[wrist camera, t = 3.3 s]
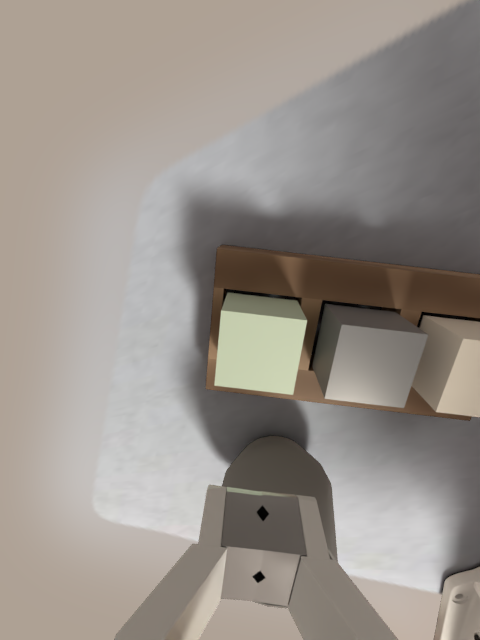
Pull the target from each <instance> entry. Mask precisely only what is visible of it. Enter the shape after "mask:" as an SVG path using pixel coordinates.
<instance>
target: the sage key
mask: <svg viewBox="0 0 480 640" xmlns="http://www.w3.org/2000/svg"><path fill="white" fill-rule="evenodd" d="M306 324H307V319H306V317H305V315H304V313H303V311H302V309H301V307H300V305H299V303H298V301H297V300H288V299H280V298H271V297H262V296H254V295H245V294H237V293H227V296H226V298H225V301H224V304H223V307H222V309H221V318H220V329H219V340H218V351H217V362H216V373H215V384H214V386H222V387H231V388H239V389H247V390H256V391H264V392H273V393H281V394H289V395H293V393H294V387H295V382H296V377H297V372H298V366H299V361H300V356H301V350H302V345H303V340H304V335H305V329H306Z"/></svg>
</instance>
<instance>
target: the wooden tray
mask: <svg viewBox="0 0 480 640" xmlns="http://www.w3.org/2000/svg"><path fill="white" fill-rule="evenodd" d="M226 289H232V290H241V291H249V292H258V293H267V294H275V295H284V296H292V297H295V300H297V301H298V303H299V305H300V307H301V309H302V311H303V313H304V315H305V317H306V319H307V324H306V329H305V335H304V340H303V345H302V350H301V356H300V361H299V366H298V372H297V377H296V382H295V387H294V393H293V395H289V394H281V393H273V392H264V391H256V390H247V389H239V388H231V387H222V386H214V384H215V373H216V362H217V351H218V340H219V329H220V318H221V309H222V307H223V304H224V301H225V298H226ZM322 300H327V301H335V302H344V303H353V304H361V305H370V306H378V307H382V310H383V311H391V312H396V313H397V314H399V315H400V316H402V317H403V318H405V319H406V320H408V321H409V322H411V323H412V324H414V325H415V326H417V325H418V322H419V319H420V315H421V312H430V313H439V314H447V315H456V316H464V317H469V321H477V322H480V274H473V273H464V272H455V271H447V270H438V269H429V268H420V267H412V266H403V265H394V264H386V263H377V262H368V261H359V260H351V259H342V258H333V257H325V256H316V255H307V254H298V253H290V252H281V251H272V250H264V249H255V248H246V247H237V246H229V245H221V246H219V247H218V248H217V254H216V266H215V279H214V291H213V303H212V316H211V328H210V340H209V353H208V365H207V377H206V389H209V390H217V391H225V392H234V393H242V394H250V395H259V396H267V397H276V398H284V399H292V400H301V401H309V402H317V403H326V404H334V405H342V406H351V407H359V408H367V409H376V410H384V411H393V412H401V413H409V414H418V415H426V416H434V417H443V418H451V419H459V420H468V421H470V419H471V417H472V416H465V415H457V414H448V413H440V412H435V411H434V410H433V408H432V407H431V406H430V405H429V404H428V403H427V402H426V401H425V400H424V399H423V398H422V397H421V395H420V394H419V393H418V392H417V391H416V390H415V389H414V388H413V387H412V386H411V389H410V392H409V395H408V398H407V401H406V404H405V407H404V408H398V407H390V406H381V405H373V404H365V403H356V402H348V401H339V400H331V399H325V398H324V396H323V393H322V390H321V388H320V385H319V383H318V380H317V377H316V375H315V372H314V370H313V367H312V365H313V360H314V355H311V354H312V349H313V344H314V339H315V334H316V329H317V324H318V319H319V314H320V309H321V304H322Z"/></svg>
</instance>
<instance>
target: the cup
mask: <svg viewBox="0 0 480 640" xmlns="http://www.w3.org/2000/svg"><path fill="white" fill-rule="evenodd" d="M222 486H223V487H226V489H227V487H232V488H239V489H246V490H252V491H259V492H261V491H264V492H274V493H284V494H294V495H301V496H310V497H315V499H316V500H317V505H318V509H319V513H320V518H321V522H322V526H323V531H324V535H325V539H326V544H327V548H328V553H329V557H330V559H331V560H336V561H337V562H338V560H337V547H336V535H335V523H334V511H333V498H332V487H331V483H330V481H329V479H328V477H327V475H326V473H325V471H324V469H323V467H322V466H321V464H320V463H319V462H318V461H317V460H316V459H314V458H313V457H312V456H311V455H310V454H309V453H308V452H307V451H305V450H304V449H303V448H302V447H301V446H299V445H298V444H297V443H296V442H294V441H293V440H290V439H288V438H285V437H281V436H267V437H262V438H258V439H257V440H255V441H253V442H252V443H250V444H249V445H248V446H247V447H246V448H245V449H244V450H243V451H242V452H241V453H240V454H239V456H238V457H237V458H236V459H235V460H234V462H233V463H232V464H231V465H230V467H229V468H228V469H227V471H226V473H225V477H224V481H223V484H222ZM253 602H256V601H253ZM256 603H259V604H262V605H265V606H268V607H279V608H288V607H289V606H283V605H276V604H269V603H263V602H256Z"/></svg>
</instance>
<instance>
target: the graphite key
mask: <svg viewBox="0 0 480 640" xmlns="http://www.w3.org/2000/svg"><path fill="white" fill-rule="evenodd" d="M427 338H428V334H427V333H425V332H424V331H422V330H421V329H420V328H418V327H417V326H415V325H414V324H412V323H411V322H409V321H408V320H406V319H405V318H403V317H402V316H400V315H399V314H397V313H396V312H391V311H383V310H374V309H366V308H357V307H348V306H340V305H331V304H325V307H324V312H323V317H322V321H321V326H320V331H319V336H318V341H317V346H316V350H315V355H314V360H313V365H312V367H313V370H314V372H315V375H316V377H317V380H318V383H319V385H320V388H321V390H322V393H323V396H324V398H325V399H331V400H339V401H348V402H356V403H365V404H373V405H381V406H390V407H398V408H404V407H405V404H406V401H407V398H408V395H409V392H410V389H411V386H412V383H413V380H414V377H415V374H416V371H417V368H418V365H419V362H420V359H421V356H422V353H423V350H424V347H425V344H426V341H427Z"/></svg>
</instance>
